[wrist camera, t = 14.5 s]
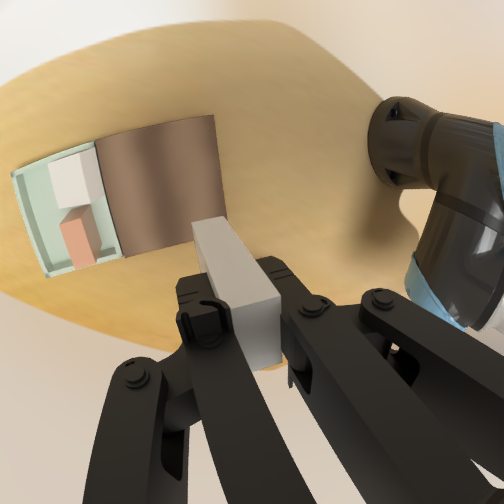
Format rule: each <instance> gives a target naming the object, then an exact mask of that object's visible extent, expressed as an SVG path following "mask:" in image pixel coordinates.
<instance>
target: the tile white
mask: <svg viewBox="0 0 504 504" xmlns="http://www.w3.org/2000/svg"><path fill="white" fill-rule="evenodd" d="M48 169H49V173H50V177H51V182H52V186H53V189H54V193H55V197H56V201H57V204H58V208H59V209H61V208H67V207H73V206H79V205H86V204H91V203H93V202H94V201H96V200H98V199H99V198H101V197H102V196H104V195H105V191H104V187H103V183H102V179H101V174H100V170H99V165H98V160H97V155H96V150H95V147H94V148H91V149H87V150H84V151H81V152H78V153H75V154H72V155H68V156H65V157H63V158H60V159H57V160H55V161H52V162H50V163H48Z"/></svg>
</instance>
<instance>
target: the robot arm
mask: <svg viewBox="0 0 504 504" xmlns="http://www.w3.org/2000/svg"><path fill="white" fill-rule="evenodd" d="M368 148H369V155H370V160H371V163H372V166H373V168H374V170H375V172H376V174H377V175H378V176H379V178H380V179H381V180H382V181H384V182H385V183H387V184H389V185H391V186H394V187H397V188H400V189H433V190H436V191H437V192H436V196H435V199H434V201H433V205H432V207H431V210H430V214H429V216H428V219H427V222H426V225H425V228H424V230H423V233H422V236H421V238H420V241H419V244H418V246H417V249H416V251H415V252H413V254H412V260H411V263H410V265H409V268H408V271H407V273H406V276H405V281H404V284H405V289H406V292H407V294H408V296H409V298H410V299H411V301H410V300H408V299H406V298H405V297H403V296H401V295H399V294H398V293H396V292H394V291H391V290H389V289H383V288H376V289H371V290H368V291H366V292H365V293H364V294H363V295H362V299H361V304H354V305H344V306H336V305H335V304H334V303H333V302H332V301H331V300H329V299H328V298H326V297H323V296H320V295H312V294H311V293H310V291H309V290H308V289H307V288H306V287H305V286H304V285H303V284H302V282H301V281H300V280H299V279H298V278H297V277H296V276H295V275H294V273H293V272H292V271H291V270H290V269H289V268H288V267H287V265H286V264H285V263H284V262H283V261H282V260H280V259H278V258H275V257H273V256H269V257H265V258H260V259H256V260H255V259H254V258H253V256H252V255H251V253H250V252H249V251H248V249H247V248H246V246H245V245H244V244H243V242H242V241H241V240H240V238H239V237H238V235H237V234H236V233H235V231H234V230H233V228H232V227H231V226H230V224H229V223H228V221H227V220H226V219H225V217H224V216H220V217H215V218H210V219H205V220H200V221H196V222H191V224H192V229H193V235H194V240H195V245H196V251H197V256H198V261H199V266H200V271H201V273H200V274H196V275H192V276H187V277H183V278H180V279H179V281H178V283H177V285H176V293H177V299H178V304H179V311H178V312H177V315H176V323H177V326H178V329H179V332H180V335H181V338H182V341H183V342H182V344H181V346H180V347H179V349H178V350H177V351H176V352H175V353H173V354H172V355H170V356H169V357H167V358H165V359H163V360H161V361H159V362H156V361H154V360H153V359H151V358H146V357H136V358H131V359H129V360H127V361H125V362H123V363H122V364H121V365H120V366H118V367H117V368H116V370H115V372H114V374H113V376H112V379H111V382H110V386H109V388H108V392H107V396H106V399H105V403H104V406H103V409H102V413H101V417H100V421H99V425H98V429H97V432H96V437H95V441H94V445H93V450H92V454H91V459H90V463H89V468H88V474H87V479H86V485H85V491H84V496H83V503H82V504H187V503H188V502H187V501H188V456H189V432H190V426H191V425H193V424H195V423H196V422H198V421H200V420H202V424H203V427H204V431H205V435H206V438H207V442H208V445H209V448H210V452H211V454H212V458H213V461H214V464H215V467H216V470H217V474H218V477H219V479H220V483H221V486H222V488H223V491H224V494H225V497H226V500H227V502H228V504H317V503H316V501H315V499H314V498H313V496H312V494H311V492H310V490H309V488H308V486H307V485H306V483H305V481H304V479H303V477H302V475H301V473H300V471H299V469H298V468H297V466H296V464H295V462H294V460H293V458H292V456H291V454H290V452H289V450H288V448H287V446H286V444H285V442H284V440H283V438H282V436H281V434H280V432H279V430H278V428H277V426H276V423H275V421H274V419H273V417H272V415H271V413H270V411H269V409H268V407H267V404H266V402H265V400H264V398H263V396H262V394H261V391H260V389H259V387H258V385H257V383H256V381H255V378H254V376H253V374H252V372H253V371H257V370H260V369H264V368H267V367H270V366H273V365H276V364H279V363H282V352H283V354H284V355H285V357H286V359H287V360H288V385H289V388H292V386H293V382H294V383H295V385H296V387H297V389H298V390H299V392H300V394H301V396H302V397H303V399H304V401H305V403H306V404H307V406H308V408H309V410H310V411H311V413H312V415H313V416H314V418H315V420H316V422H317V423H318V425H319V427H320V428H321V430H322V432H323V433H324V435H325V437H326V438H327V440H328V442H329V444H330V445H331V447H332V449H333V450H334V452H335V453H336V455H337V457H338V458H339V460H340V462H341V463H342V465H343V467H344V468H345V470H346V472H347V473H348V475H349V476H350V478H351V480H352V481H353V483H354V485H355V486H356V487H357V489H358V491H359V493H360V494H361V496H362V497H363V499H364V500H365V502H366V504H504V489H498V488H496V487H493V486H492V485H491V484H490V483H489V482H488V480H487V479H486V478H485V477H484V475H483V474H482V473H481V472H480V470H479V469H478V468H477V467H476V465H475V464H474V463H473V462H472V461H471V459H472V460H473V461H474V462H476V463H477V464H479V465H480V466H482V467H483V468H484V469H486V470H487V471H489V472H490V473H492V474H493V475H495V476H496V477H498V478H499V479H501V480H502V481H504V356H502V355H501V354H499V353H497V352H496V351H494V350H493V349H491V348H489V347H488V346H486V345H485V344H483V343H481V342H479V341H478V340H476V339H475V338H473V337H472V336H470V335H468V334H467V333H465V332H463V331H465V330H466V328H467V327H468V326H469V327H471V328H473V329H474V330H476V331H477V332H482V331H485V330H487V329H490V328H495V329H496V330H498V331H500V332H501V333H502V334H504V126H503V125H501V124H500V123H498V122H490V121H485V120H481V119H476V118H471V117H466V116H461V115H455V114H449V113H443V112H439V111H437V110H435V109H433V108H431V107H429V106H427V105H425V104H423V103H421V102H419V101H417V100H415V99H412V98H409V97H391V98H388V99H386V100H385V101H384V102H382V103H381V104H380V106H379V107H378V108H377V110H376V111H375V113H374V115H373V118H372V120H371V124H370V128H369V135H368ZM392 343H394V344H396V345H397V346H398V347H399V350H393V349H391V346H392Z"/></svg>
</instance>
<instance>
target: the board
mask: <svg viewBox="0 0 504 504" xmlns="http://www.w3.org/2000/svg"><path fill="white" fill-rule="evenodd" d="M95 142H96V147H97V153H98V158H99V163H100V167H101V172H102V177H103V181H104V185H105V189H106V194H107V198H108V202H109V205H110V209H111V213H112V217H113V220H114V224H115V227H116V231H117V234H118V237H119V241H120V244H121V247H122V250H123V253H124V256H125V258H127V257H131V256H135V255H139V254H142V253H146V252H150V251H154V250H158V249H162V248H166V247H170V246H174V245H178V244H182V243H186V242H190V241H194V235H193V229H192V224H191V222H196V221H200V220H205V219H210V218H215V217H220V216H224V217H225V219H226V220H227V214H226V207H225V200H224V192H223V185H222V177H221V169H220V162H219V154H218V146H217V138H216V129H215V121H214V115H208V116H201V117H195V118H189V119H183V120H177V121H172V122H167V123H162V124H157V125H153V126H148V127H144V128H139V129H135V130H131V131H127V132H123V133H119V134H116V135H112V136H109V137H105V138H102V139H98V140H95Z"/></svg>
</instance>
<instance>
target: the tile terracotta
mask: <svg viewBox="0 0 504 504" xmlns="http://www.w3.org/2000/svg"><path fill="white" fill-rule="evenodd" d="M59 226H60V230H61V233H62V235H63V238H64V241H65V244H66V247H67V250H68V252H69V255H70V258H71V260H72V263H73V265H74V268H75V270H76V269H79V268H83V267H87V266H90V265H94V264H96V262H97V259H98V256H99V253H100V249H101V246H102V242H101V238H100V235H99V232H98V229H97V225H96V222H95V219H94V215H93V212H92V208H91V204H87V205H84V206H81V207H77V208H74V209H71V210H70V211H69V213H68V214H67V215H66V216H65V218H64V219H63V220H62V221H61V223H60V224H59Z"/></svg>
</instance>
